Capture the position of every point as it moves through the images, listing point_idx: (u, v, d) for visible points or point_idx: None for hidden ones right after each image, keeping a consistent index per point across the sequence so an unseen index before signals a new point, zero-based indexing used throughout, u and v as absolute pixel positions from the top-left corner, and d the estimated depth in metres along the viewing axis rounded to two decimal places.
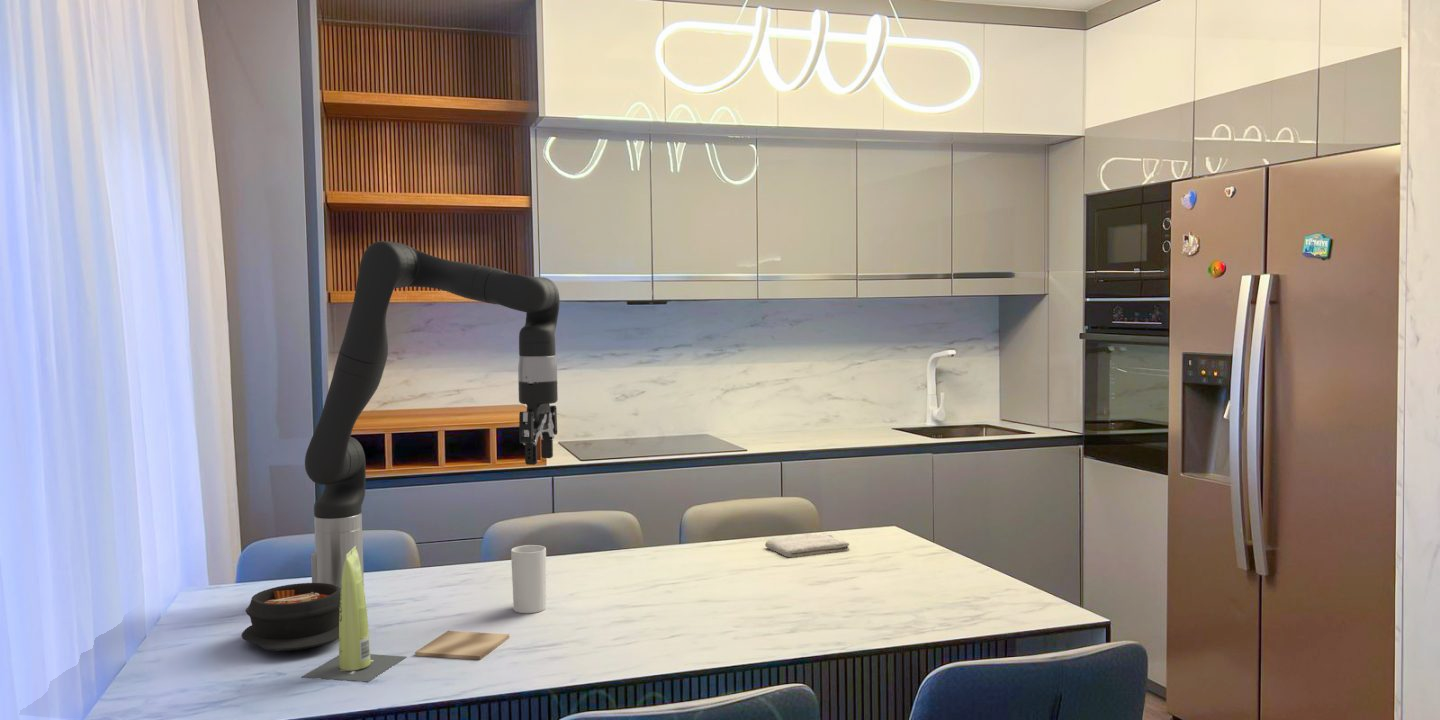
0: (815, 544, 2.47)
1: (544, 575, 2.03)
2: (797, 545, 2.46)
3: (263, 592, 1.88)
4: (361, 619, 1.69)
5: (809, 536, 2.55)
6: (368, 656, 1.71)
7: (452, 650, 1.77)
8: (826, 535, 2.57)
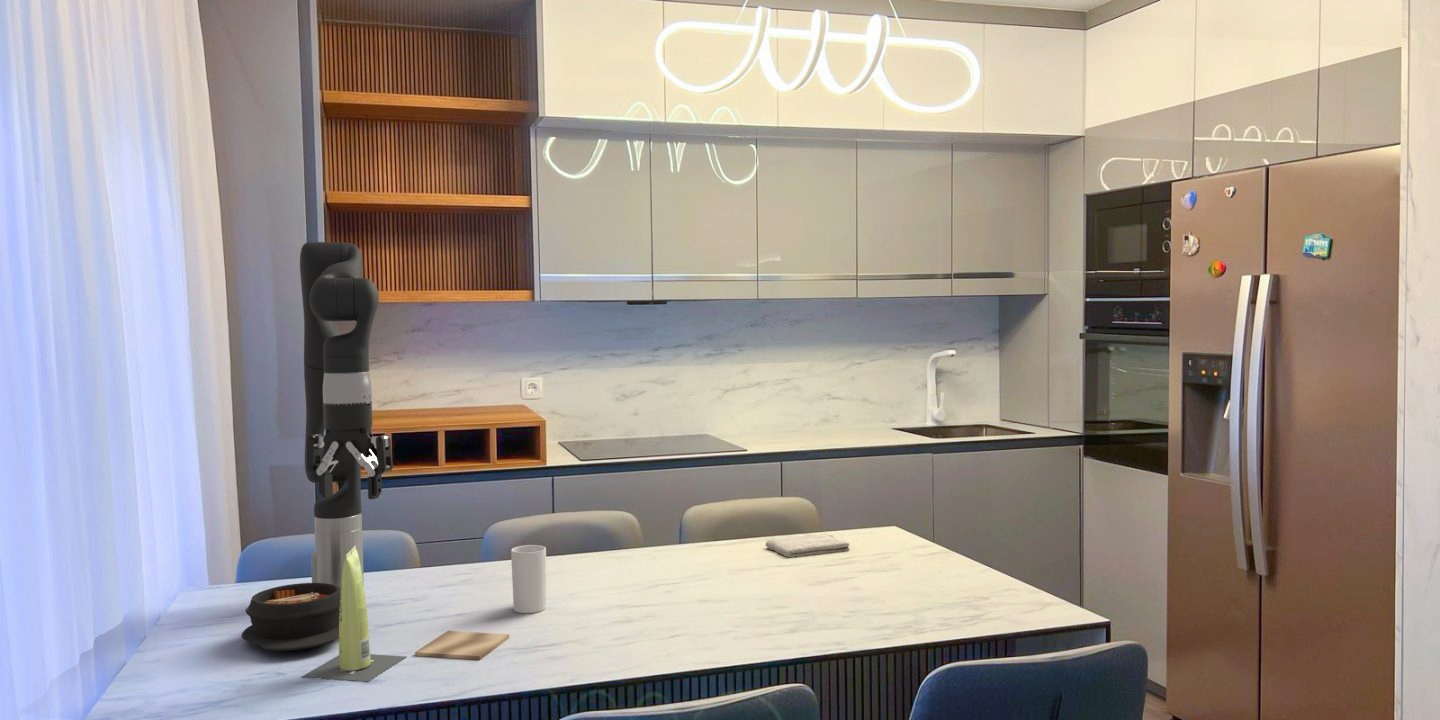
0: (815, 544, 2.47)
1: (544, 575, 2.03)
2: (797, 545, 2.46)
3: (263, 592, 1.88)
4: (361, 619, 1.69)
5: (810, 536, 2.55)
6: (368, 656, 1.71)
7: (452, 650, 1.77)
8: (827, 535, 2.57)
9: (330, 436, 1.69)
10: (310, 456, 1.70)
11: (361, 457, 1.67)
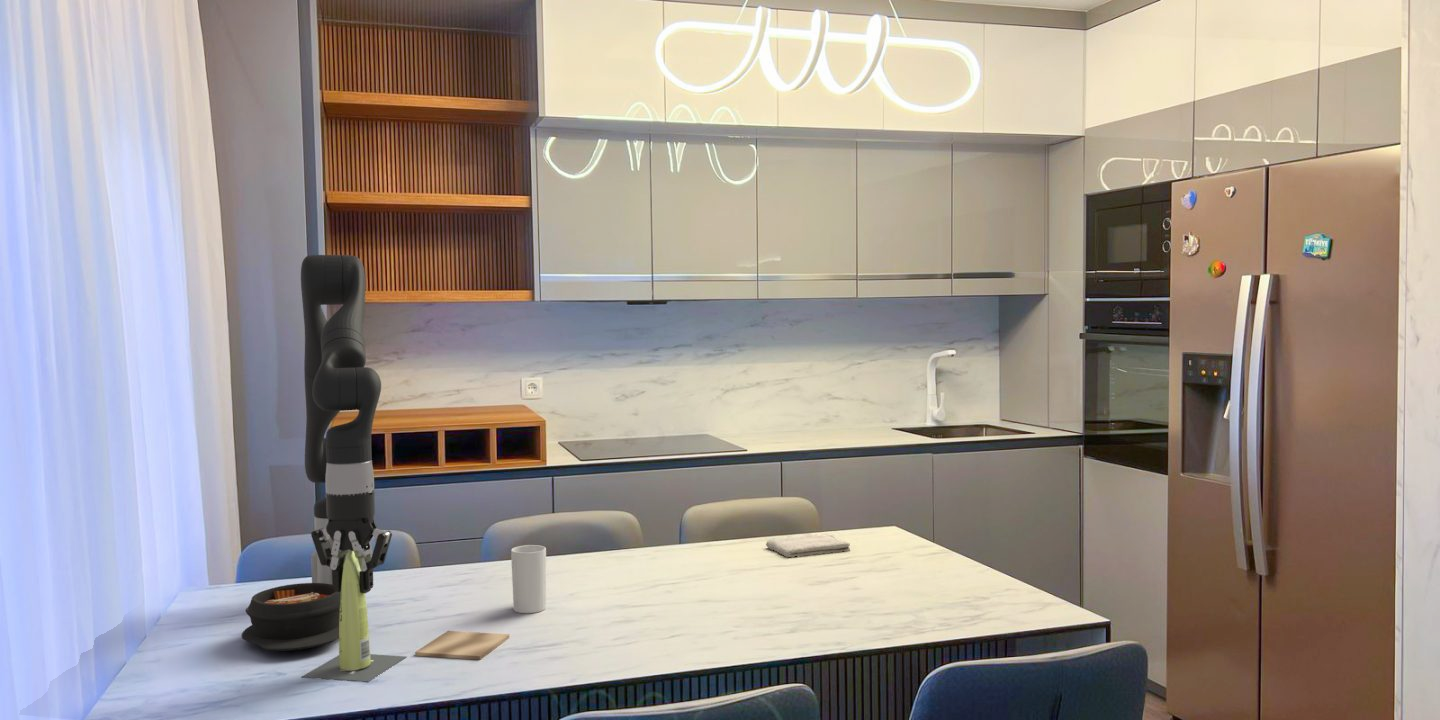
0: (815, 544, 2.47)
1: (544, 575, 2.03)
2: (797, 545, 2.46)
3: (263, 592, 1.88)
4: (361, 619, 1.69)
5: (810, 536, 2.55)
6: (368, 656, 1.71)
7: (452, 650, 1.77)
8: (828, 535, 2.57)
9: (331, 524, 1.70)
10: (320, 551, 1.70)
11: (359, 550, 1.68)
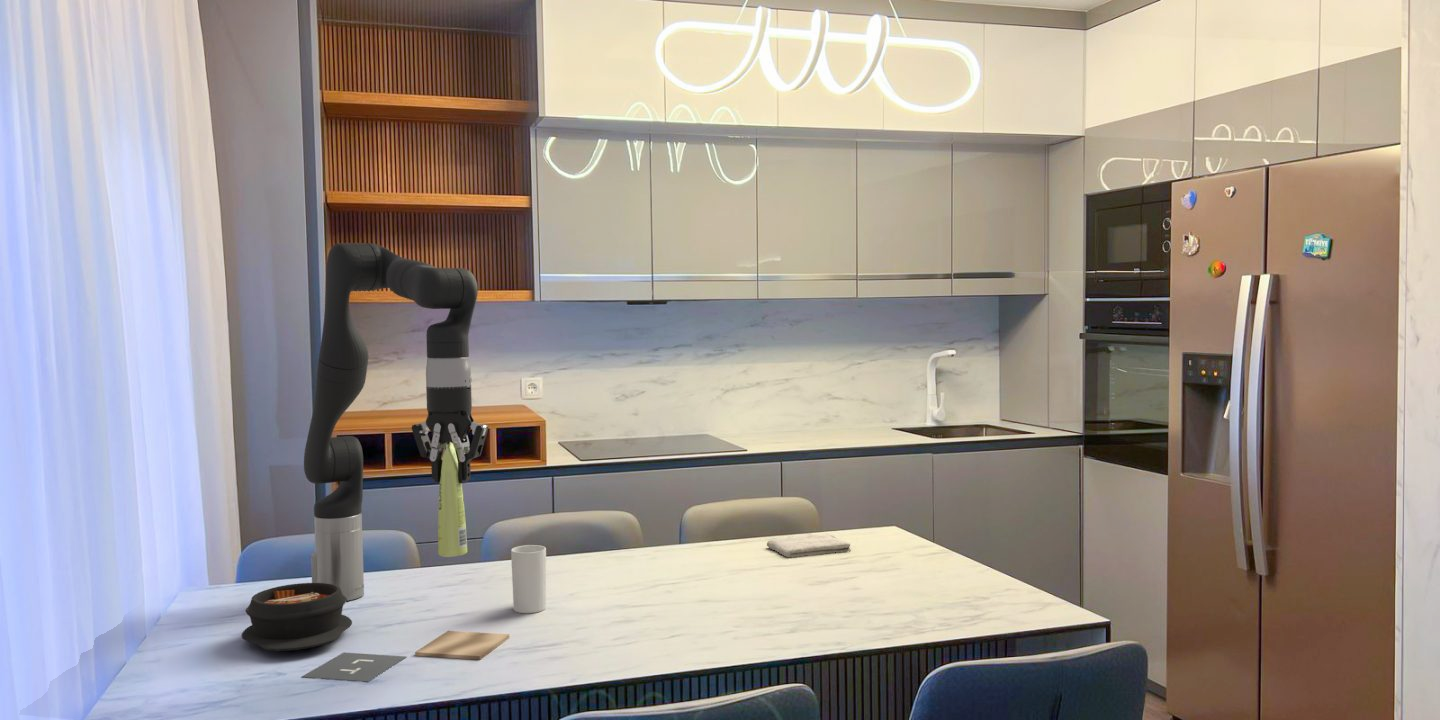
0: (815, 544, 2.47)
1: (544, 575, 2.03)
2: (797, 545, 2.46)
3: (263, 592, 1.88)
4: (459, 508, 1.77)
5: (811, 536, 2.55)
6: (465, 544, 1.79)
7: (452, 650, 1.77)
8: (829, 535, 2.57)
9: (431, 417, 1.78)
10: (420, 443, 1.79)
11: (458, 441, 1.76)
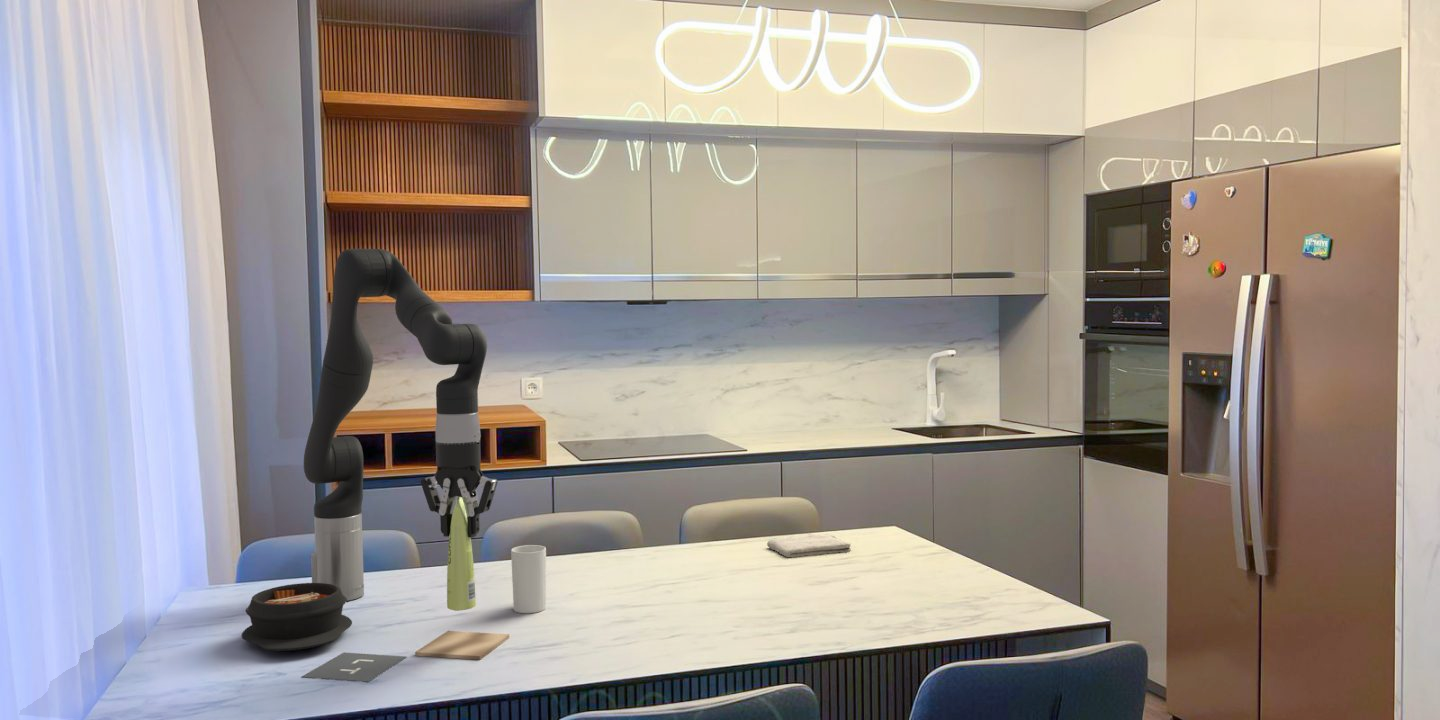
0: (815, 544, 2.46)
1: (544, 575, 2.03)
2: (797, 545, 2.46)
3: (263, 592, 1.88)
4: (469, 562, 1.79)
5: (812, 536, 2.55)
6: (474, 597, 1.80)
7: (452, 650, 1.77)
8: (829, 536, 2.56)
9: (440, 472, 1.79)
10: (429, 498, 1.80)
11: (467, 496, 1.78)
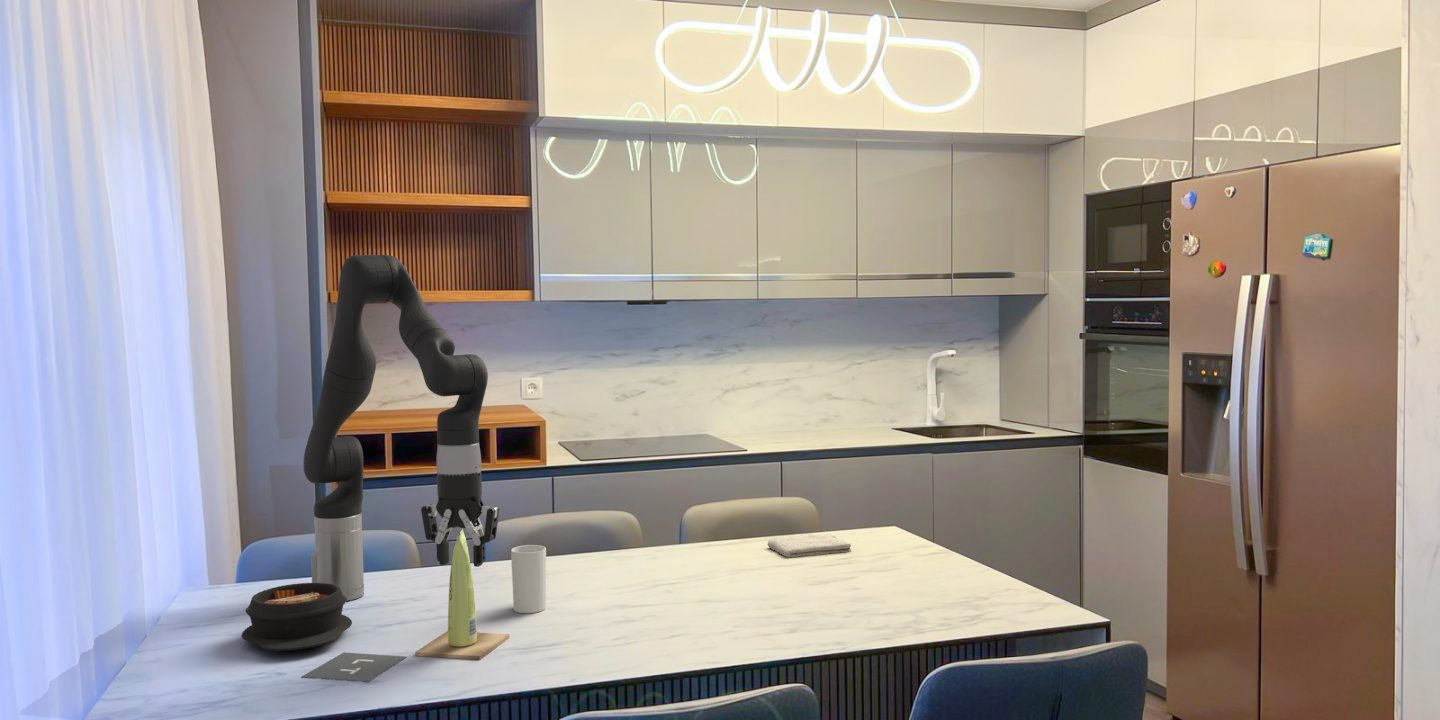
0: (815, 545, 2.46)
1: (544, 575, 2.03)
2: (797, 546, 2.46)
3: (263, 592, 1.88)
4: (469, 598, 1.79)
5: (812, 536, 2.54)
6: (475, 633, 1.81)
7: (452, 650, 1.77)
8: (830, 536, 2.56)
9: (442, 503, 1.80)
10: (427, 526, 1.80)
11: (470, 526, 1.78)
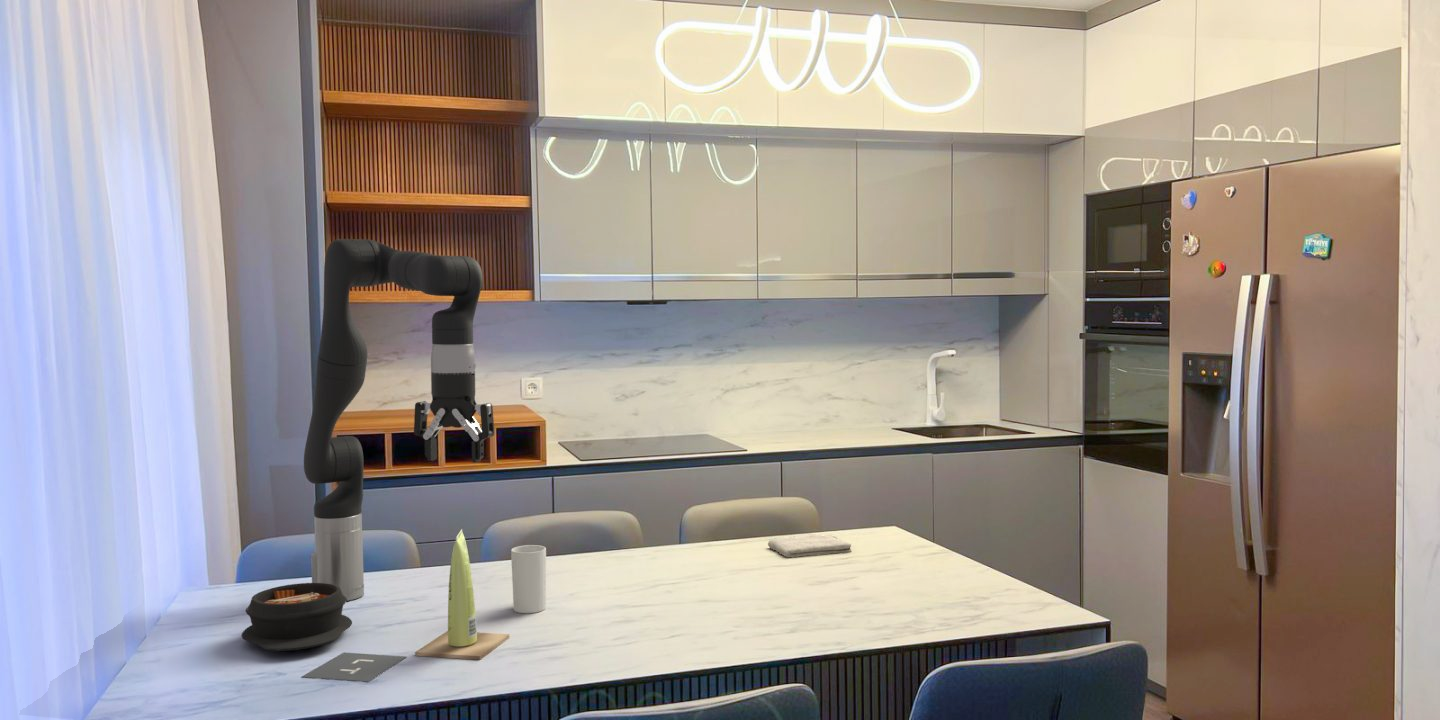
0: (815, 545, 2.46)
1: (544, 575, 2.03)
2: (797, 545, 2.46)
3: (263, 592, 1.88)
4: (469, 598, 1.79)
5: (813, 537, 2.54)
6: (475, 633, 1.81)
7: (452, 650, 1.77)
8: (831, 536, 2.56)
9: (437, 403, 1.81)
10: (417, 422, 1.82)
11: (466, 423, 1.80)
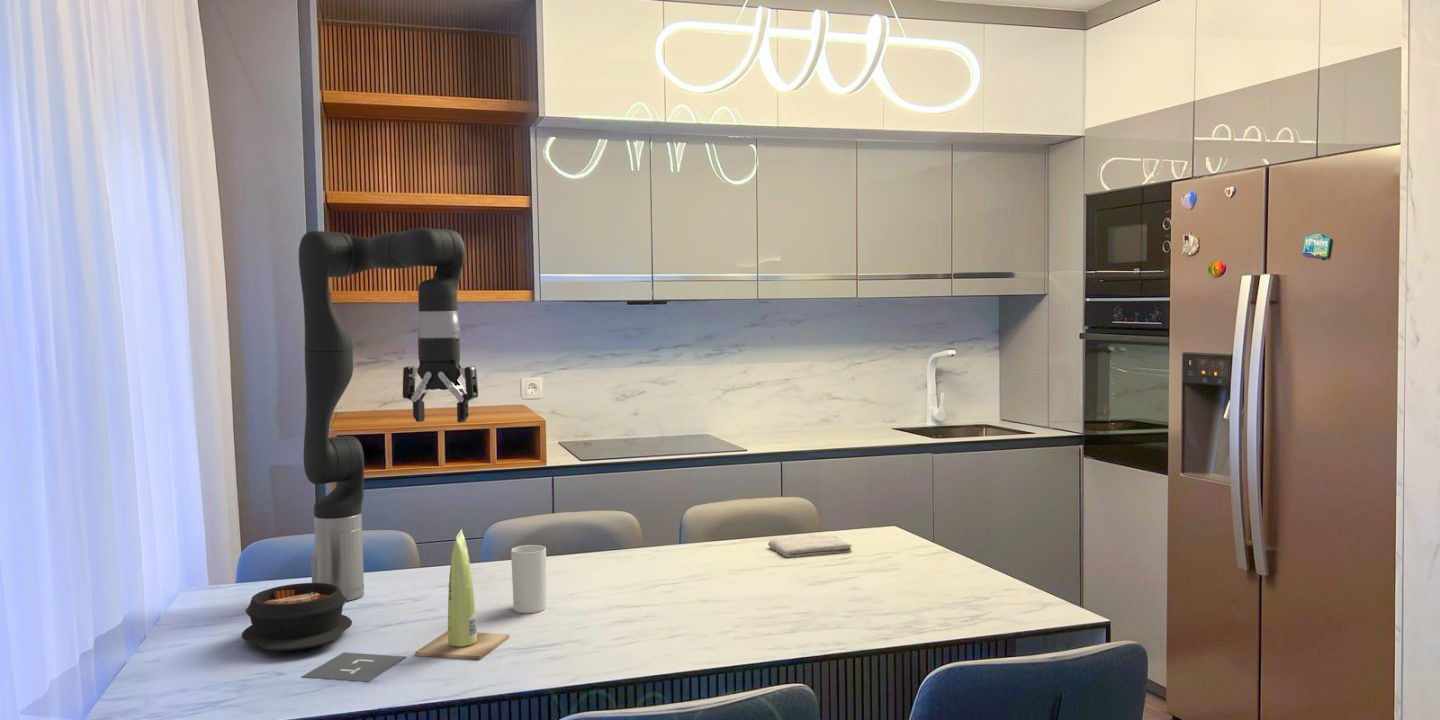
0: (816, 545, 2.46)
1: (544, 575, 2.03)
2: (797, 546, 2.46)
3: (263, 592, 1.88)
4: (469, 598, 1.79)
5: (813, 537, 2.54)
6: (475, 633, 1.81)
7: (452, 650, 1.77)
8: (831, 536, 2.56)
9: (423, 367, 1.93)
10: (406, 385, 1.94)
11: (451, 385, 1.92)
